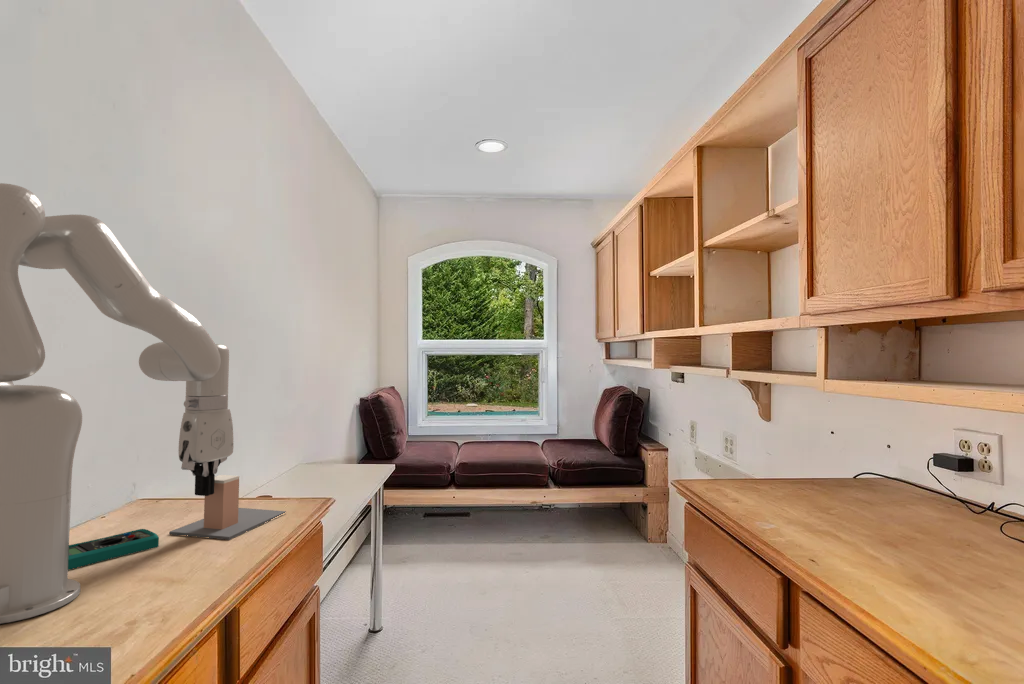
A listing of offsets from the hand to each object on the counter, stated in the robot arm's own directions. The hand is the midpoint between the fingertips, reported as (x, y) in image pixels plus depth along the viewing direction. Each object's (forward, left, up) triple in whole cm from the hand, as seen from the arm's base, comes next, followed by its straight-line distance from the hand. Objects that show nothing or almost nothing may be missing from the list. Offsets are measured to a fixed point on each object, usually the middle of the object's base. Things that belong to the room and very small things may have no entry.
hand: (204, 494), depth 105 cm
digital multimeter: (-12, +9, -9) cm, 18 cm away
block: (+5, 0, -8) cm, 9 cm away
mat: (+8, 0, -8) cm, 11 cm away
